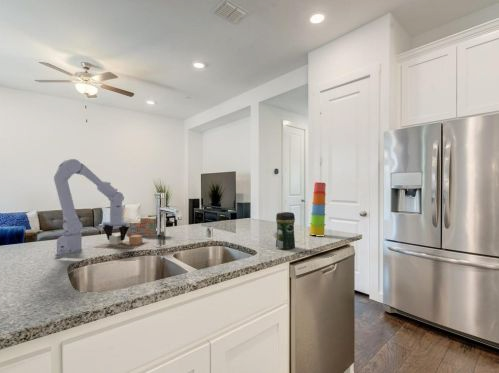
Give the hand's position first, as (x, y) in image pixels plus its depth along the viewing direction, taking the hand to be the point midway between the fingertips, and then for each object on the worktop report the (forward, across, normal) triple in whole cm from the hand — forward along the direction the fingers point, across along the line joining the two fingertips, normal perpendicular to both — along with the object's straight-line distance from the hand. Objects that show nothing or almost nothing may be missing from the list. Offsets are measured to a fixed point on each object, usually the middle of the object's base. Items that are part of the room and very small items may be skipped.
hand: (116, 239), depth 135 cm
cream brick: (+2, 0, 0) cm, 2 cm away
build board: (+3, -6, +2) cm, 7 cm away
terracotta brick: (+2, -10, -2) cm, 11 cm away
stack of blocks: (+3, -3, -23) cm, 23 cm away
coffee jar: (+3, -89, -11) cm, 90 cm away
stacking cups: (+3, -109, -48) cm, 119 cm away
